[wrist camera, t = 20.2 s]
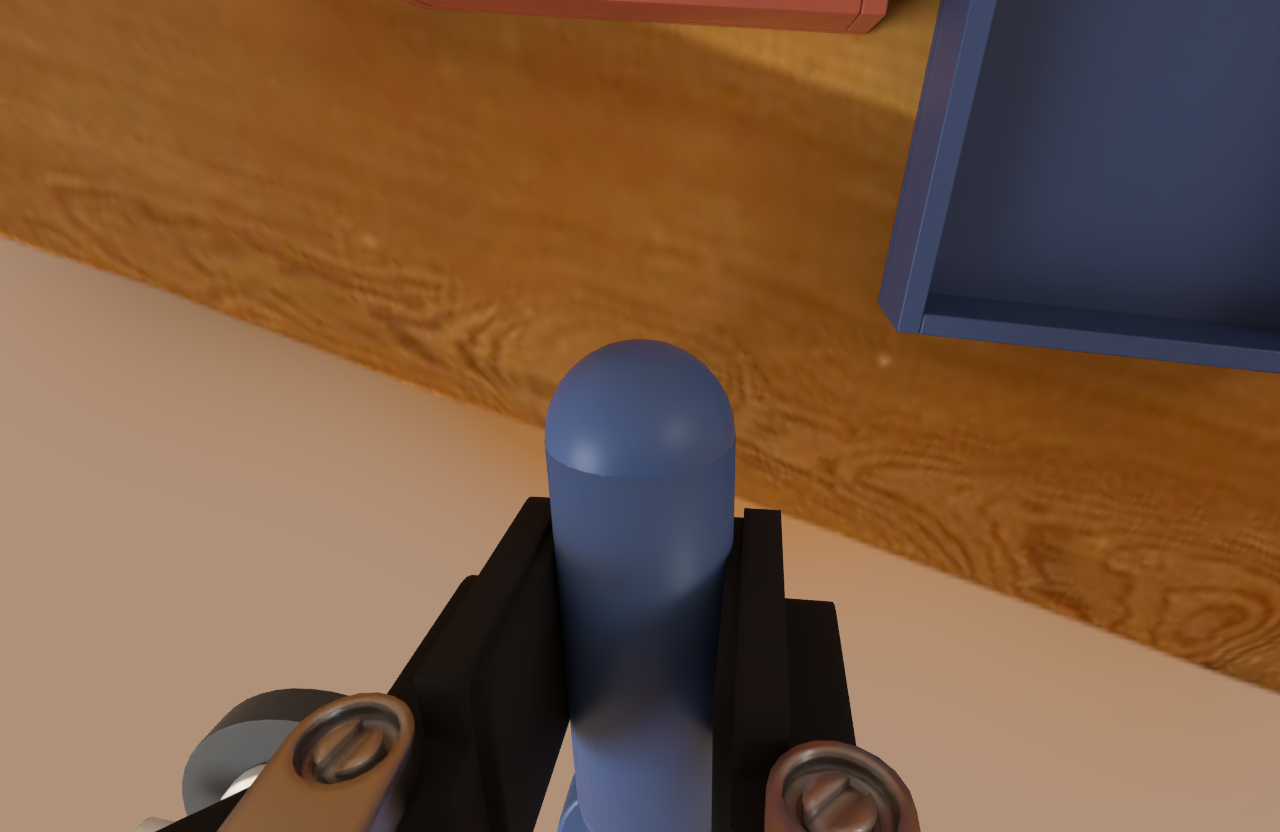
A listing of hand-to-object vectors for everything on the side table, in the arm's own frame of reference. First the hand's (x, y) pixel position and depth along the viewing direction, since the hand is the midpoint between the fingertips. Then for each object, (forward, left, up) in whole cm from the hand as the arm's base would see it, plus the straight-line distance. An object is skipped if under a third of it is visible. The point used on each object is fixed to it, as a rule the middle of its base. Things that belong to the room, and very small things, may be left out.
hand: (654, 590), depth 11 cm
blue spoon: (0, -2, 0) cm, 2 cm away
